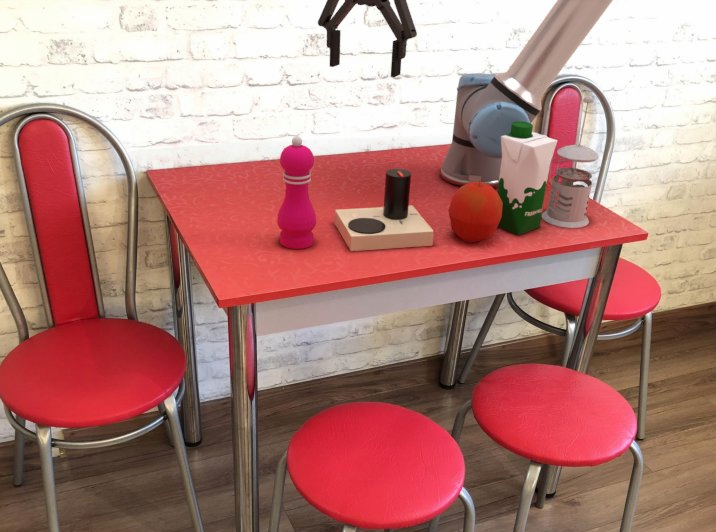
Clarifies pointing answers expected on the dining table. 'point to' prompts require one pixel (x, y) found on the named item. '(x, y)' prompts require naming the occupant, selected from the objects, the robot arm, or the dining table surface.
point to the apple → (475, 211)
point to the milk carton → (523, 177)
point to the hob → (394, 236)
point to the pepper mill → (296, 197)
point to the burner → (366, 225)
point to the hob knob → (397, 194)
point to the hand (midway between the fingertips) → (364, 70)
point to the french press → (571, 186)
